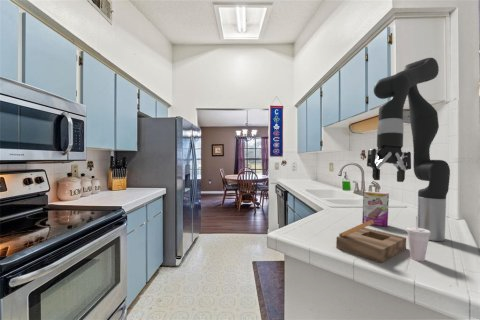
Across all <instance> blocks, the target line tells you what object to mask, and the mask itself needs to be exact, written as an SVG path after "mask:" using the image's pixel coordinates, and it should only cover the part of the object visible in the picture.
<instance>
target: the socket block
mask: <svg viewBox="0 0 480 320" xmlns="http://www.w3.org/2000/svg"><path fill="white" fill-rule="evenodd" d="M335 243H336V244H335V245H336V249H338V248H339V250H341V249H342V250H341V251H345V252H348V253H350V254H353V255H356V256H359V257H362V258H364V259H368V260H370V261H373V262H376V261H377V263H379V262H380V263H379V264H381V263H383V261H384V262H385V261H387V260H389V259H390V258H392V257H394V256H396V255H397V254H399V253H401V252H402V251H405V250H406V249H407V237H406V236H405V237H404V236H401V235H397V234H392V233H388V232H384V231H380V230H376V229H372V228H368V227H364V228H362V229H360V230H357V231H355V232H353V233H350V234H348V235H346V236H343V237H340V236H339V235H338V236H336V242H335Z"/></svg>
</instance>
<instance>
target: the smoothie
mask: <svg viewBox="0 0 480 320" xmlns="http://www.w3.org/2000/svg"><path fill="white" fill-rule="evenodd" d="M417 216H418V215H417ZM417 216H415V226H413V227H412V226H408V227H406V232H407V239H408V247H409V255H410V259H412V260H413V261H417V262H425V261H426V254H427V251H428V245H429V241H430V240H429V236H430V235H431V234H430V231H429V230H426V229H422V228H418V217H417Z"/></svg>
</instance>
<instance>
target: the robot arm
mask: <svg viewBox="0 0 480 320" xmlns="http://www.w3.org/2000/svg"><path fill="white" fill-rule="evenodd" d="M439 71H440V70H439V63H438V61H437V59H435V58H434V57H426V58H423V59H419V60H418V61H413V62H411V63H409V64H406V65H405V66H404V68H403V70H401V71H399V72H397V73H395V74H393V75H390V76H386V77H384V78H380V79H378V80H377V81H376V82H375V84H374V86H373V94H374V95H375V97H376V98H378V99H381V100H384V99H389V98H391V100H389V101H387V102H385V103H383V104H381V105H380V106H379V108H378V122H377V130H376V131H377V132H376V133H377V134H376V147H377V149H376V148H370V149H368V150H367V159H366V167H369V168H372V174H371V175H372V179H373V181H380V179H381V169H380V168H381V167H382V166H383V165H384V164H392V165H393V166H394V167H395V169H396V170H397V171H396V182H398V183H403V182H404V181H405V178H406V171H408V170H411V169H412V163H413V173H414V176H415V177H416V179H418V180H419V181H425V182H428V186H427V187H425V188H424V187H423V188H421V189H419V190H418V191H417V217H418V228H422V229H426V230H429V231H430V234H431V235H430V236H429V240H428V241H433V242H444V241H445V240H446V220H447V219H446V218H447V217H446V215H447V213H446V212H447V211H446V210H447V195H448V193H449V189H450V188H449V185H450V177H451V169H450V166H449V164H448V162H447V161H446V160H443V159H431V157H430V156H431V155H430V149H431V145H432V143H433V141H434V139H435V137H436V136H437V133H438V131H439V129H440V128H439V127H440V126H439V123H440V122H439V114H438V112H437V111H438V110H437V109H435V107H434V106H433V105H432V104H431V103H429V102H428V101H427V100H426V99H425V97H423V96H422V95H421V93H420V91H419V89H418V84H422V83H423V84H424V83H427V82H429V81H433V80H434V79H435V78H437V76H438V75H439ZM406 99H407V100H408V106H409V107H408V109H409V110H408V111H409V120H410V128H411V129H410V130H411V135H412V145H413V162H412V154H411V153H412V152H410V151H402V148H403V146H404V121H403V120H404V108H405V107H404V106H405V103H406V101H407V100H406ZM376 156H377V158H376Z"/></svg>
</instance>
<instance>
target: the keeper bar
mask: <svg viewBox="0 0 480 320" xmlns="http://www.w3.org/2000/svg"><path fill="white" fill-rule="evenodd" d="M371 224H374V221H373V220H370V221H367V222H365V223H361V224H358V225H355V226H353V227H352V228H349V229H347V230H345V231H342V232H341V233H339V234H338V236H340V237H343V236H346V235H348V234H350V233H353V232H355V231H357V230H360V229H362V228H368V227H369V226H371Z"/></svg>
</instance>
